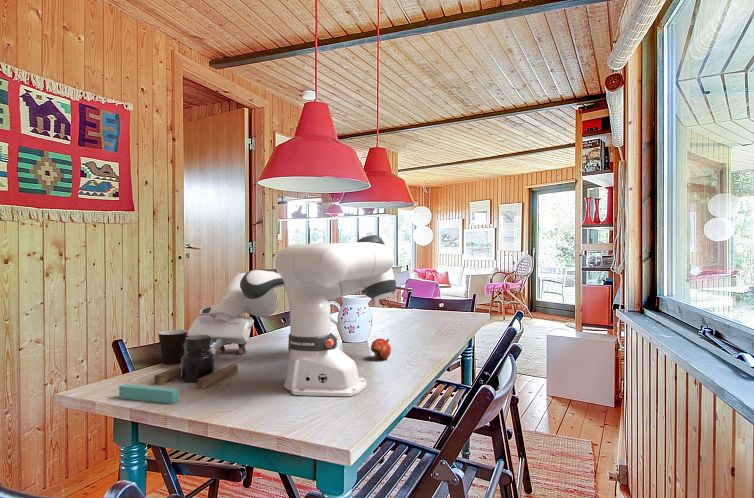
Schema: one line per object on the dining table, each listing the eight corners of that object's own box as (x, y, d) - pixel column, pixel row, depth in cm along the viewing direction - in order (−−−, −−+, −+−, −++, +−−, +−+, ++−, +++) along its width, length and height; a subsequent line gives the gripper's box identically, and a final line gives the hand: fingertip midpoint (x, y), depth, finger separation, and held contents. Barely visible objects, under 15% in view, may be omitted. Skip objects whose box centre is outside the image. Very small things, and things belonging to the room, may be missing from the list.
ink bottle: (200, 372, 137) (200, 333, 137) (221, 376, 133) (221, 335, 133) (173, 380, 129) (173, 338, 129) (194, 385, 124) (194, 341, 124)
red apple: (380, 369, 149) (401, 348, 152) (366, 352, 148) (388, 332, 151) (372, 366, 156) (392, 346, 159) (359, 350, 155) (379, 330, 158)
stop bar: (178, 401, 111) (178, 389, 111) (172, 404, 109) (172, 391, 109) (125, 395, 116) (125, 383, 116) (119, 398, 114) (119, 386, 114)
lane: (237, 373, 136) (237, 364, 136) (204, 389, 121) (204, 379, 121) (192, 369, 141) (192, 361, 141) (154, 384, 125) (154, 375, 125)
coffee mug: (176, 366, 144) (176, 335, 144) (152, 364, 146) (152, 334, 146) (197, 357, 155) (197, 328, 155) (175, 356, 157) (175, 327, 157)
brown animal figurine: (236, 358, 156) (224, 338, 156) (220, 367, 160) (207, 347, 160) (258, 343, 167) (246, 324, 166) (241, 352, 171) (230, 333, 171)
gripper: (259, 322, 145) (243, 360, 136) (205, 320, 151) (186, 356, 142) (251, 311, 141) (234, 349, 132) (196, 309, 147) (175, 345, 137)
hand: (208, 353), depth 137 cm, fingers closed
